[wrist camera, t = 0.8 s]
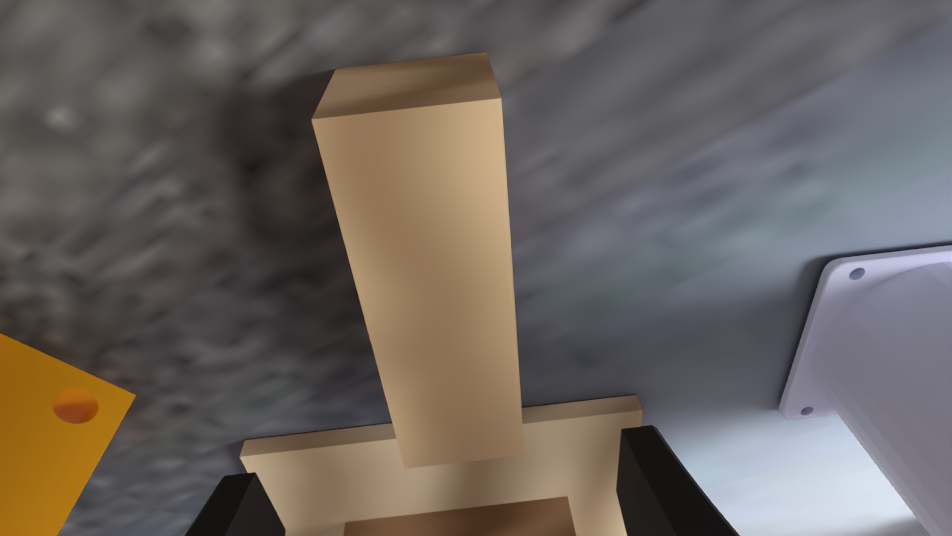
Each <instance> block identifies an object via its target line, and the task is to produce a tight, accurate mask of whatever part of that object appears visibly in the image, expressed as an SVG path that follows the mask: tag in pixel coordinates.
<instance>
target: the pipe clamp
mask: <svg viewBox="0 0 952 536" xmlns="http://www.w3.org/2000/svg"><path fill="white" fill-rule="evenodd" d="M135 396H136V395H135V394H132V393H130V392H128V391H126V390H124V389H121V388H119V387H117V386H115V385H113V384H111V383H108V382H106V381H104V380H102V379H100V378H97V377H95V376H93V375H91V374H89V373H86V372H84V371H82V370H80V369H78V368H75V367H73V366H71V365H69V364H67V363H64V362H62V361H60V360H58V359H56V358H53V357H51V356H49V355H47V354H45V353H42V352H40V351H38V350H36V349H34V348H31V347H29V346H27V345H25V344H23V343H20V342H18V341H16V340H14V339H12V338H10V337H7V336H5V335H3V334H1V333H0V536H57V535H58V533H59V531H60V529H61V528H62V526H63V524H64V522H65V521H66V519H67V517H68V515H69V513H70V512H71V510H72V508H73V506H74V505H75V503H76V501H77V499H78V498H79V496H80V494H81V492H82V490H83V489H84V487H85V485H86V483H87V482H88V480H89V478H90V476H91V474H92V473H93V471H94V469H95V467H96V466H97V464H98V462H99V460H100V458H101V457H102V455H103V453H104V451H105V450H106V448H107V446H108V444H109V443H110V441H111V439H112V437H113V435H114V434H115V432H116V430H117V428H118V427H119V425H120V423H121V421H122V419H123V418H124V416H125V414H126V412H127V411H128V409H129V407H130V405H131V403H132V402H133V400H134V398H135Z"/></svg>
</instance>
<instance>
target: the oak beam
mask: <svg viewBox="0 0 952 536" xmlns="http://www.w3.org/2000/svg"><path fill="white" fill-rule="evenodd" d="M311 120H312V124H313V127H314V131H315V135H316V139H317V142H318V146H319V150H320V154H321V157H322V161H323V165H324V169H325V172H326V176H327V180H328V183H329V187H330V191H331V195H332V198H333V202H334V206H335V210H336V213H337V217H338V221H339V225H340V228H341V232H342V236H343V240H344V243H345V247H346V251H347V255H348V258H349V262H350V266H351V270H352V273H353V277H354V281H355V285H356V288H357V292H358V296H359V300H360V303H361V307H362V311H363V315H364V318H365V322H366V326H367V330H368V333H369V337H370V341H371V344H372V348H373V352H374V356H375V359H376V363H377V367H378V371H379V374H380V378H381V382H382V386H383V389H384V393H385V397H386V401H387V404H388V408H389V412H390V416H391V419H392V423H393V427H394V431H395V434H396V438H397V442H398V446H399V449H400V453H401V457H402V461H403V464H404V468H405V469H407V468H416V467H425V466H434V465H443V464H451V463H460V462H469V461H478V460H486V459H495V458H504V457H513V456H521V455H525V453H524V438H523V423H522V407H521V392H520V377H519V362H518V346H517V331H516V316H515V300H514V285H513V270H512V255H511V239H510V224H509V209H508V193H507V178H506V163H505V147H504V132H503V117H502V102H501V96H500V93H499V89H498V86H497V83H496V80H495V77H494V74H493V71H492V68H491V64H490V61H489V58H488V55H487V52H482V53H473V54H464V55H455V56H446V57H438V58H429V59H420V60H411V61H402V62H393V63H384V64H375V65H366V66H357V67H348V68H340V69H336V70H335V72H334V74H333V76H332V78H331V80H330V82H329V84H328V86H327V88H326V90H325V92H324V94H323V96H322V99H321V101H320V103H319V105H318V107H317V109H316V111H315V113H314V115H313V117H312V119H311Z"/></svg>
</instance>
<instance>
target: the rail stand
mask: <svg viewBox="0 0 952 536" xmlns="http://www.w3.org/2000/svg"><path fill="white" fill-rule="evenodd" d="M642 415H643V408H642V406H641V403H640V401H639V399H638V396H637V395H630V396H622V397H613V398H604V399H596V400H587V401H579V402H570V403H561V404H553V405H544V406H536V407H527V408H522V423H523V438H524V453H525V455H521V456H513V457H504V458H495V459H486V460H478V461H469V462H460V463H451V464H443V465H434V466H425V467H416V468H407V469H405V468H404V464H403V461H402V457H401V453H400V449H399V446H398V442H397V438H396V434H395V431H394V427H393V423H389V424H381V425H372V426H363V427H355V428H346V429H338V430H329V431H320V432H312V433H303V434H295V435H286V436H277V437H269V438H260V439H252V440H245V441H244V444H243V448H242V451H241V454H240V459H241V461H242V463H243V465H244V466H245V468H246V470H247V472H248V473H253V472H256V474H257V476H258V478H259V479H260V481H261V483H262V485H263V487H264V489H265V491H266V493H267V495H268V497H269V499H270V501H271V502H272V504H273V506H274V508H275V510H276V512H277V514H278V516H279V518H280V520H281V522H282V523H283V525H284V527H285V529H286V532H285V536H627V533H626V529H625V525H624V521H623V517H622V513H621V509H620V505H619V501H618V497H617V493H616V484H617V473H618V461H619V450H620V438H621V429H624V428H632V427H641V424H642Z"/></svg>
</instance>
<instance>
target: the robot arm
mask: <svg viewBox="0 0 952 536" xmlns="http://www.w3.org/2000/svg"><path fill="white" fill-rule="evenodd" d="M854 269H856V270H855V271H853V270H854ZM852 271H853V272H852ZM851 272H852V273H851ZM779 411H780V413H781V415H782V416H783V417H784V418H785V419H788V420H793V419H802V418H811V417H819V416H828V415H836V414H838V415H839V416H840V417H841V419H842V420H843V421H844V423H845V424H846V425H847V427H848V428H849V429H850V431H851V432H852V433H853V434H854V436H855V437H856V438H857V440H858V441H859V442H860V444H861V445H862V446H863V448H864V449H865V450H866V452H867V453H868V454H869V456H870V457H871V458H872V460H873V461H874V462H875V463H876V465H877V466H878V467H879V469H880V470H881V471H882V473H883V474H884V475H885V477H886V478H887V479H888V481H889V482H890V483H891V485H892V486H893V487H894V488H895V490H896V491H897V492H898V494H899V495H900V496H901V498H902V499H903V500H904V502H905V503H906V504H907V506H908V507H909V508H910V510H911V511H912V512H913V514H914V515H915V516H916V517H917V519H918V520H919V521H920V523H921V524H922V525H923V527H924V528H925V529H926V531H927V532H928V533H929V535H930V536H952V245H949V246H940V247H931V248H923V249H914V250H905V251H897V252H888V253H879V254H871V255H862V256H853V257H845V258H839V259H835V260H833V261H831V262H829V263H828V264H827V265H826V266H825V268H824V269H823V271H822V274H821V277H820V280H819V283H818V286H817V290H816V293H815V296H814V299H813V302H812V305H811V308H810V311H809V315H808V318H807V321H806V324H805V327H804V330H803V333H802V336H801V339H800V343H799V346H798V349H797V352H796V355H795V358H794V361H793V364H792V368H791V371H790V374H789V377H788V380H787V383H786V386H785V389H784V392H783V396H782V399H781V402H780V405H779ZM616 493H617V497H618V501H619V505H620V509H621V513H622V517H623V521H624V525H625V529H626V533H627V536H740V535H739V534H738V533H737V532H736V531H735V530H734V528H733V527H732V526H731V525H730V524H729V522H728V521H727V520H726V519H725V518H724V516H723V515H722V514H721V513H720V512H719V510H718V509H717V508H716V507H715V506H714V504H713V503H712V502H711V501H710V499H709V498H708V497H707V496H706V494H705V493H704V492H703V491H702V489H701V488H700V487H699V485H698V484H697V483H696V482H695V480H694V479H693V478H692V476H691V475H690V474H689V472H688V471H687V470H686V469H685V467H684V466H683V464H682V463H681V462H680V460H679V459H678V458H677V456H676V455H675V454H674V452H673V451H672V449H671V448H670V447H669V445H668V444H667V442H666V441H665V439H664V438H663V437H662V435H661V434H660V432H659V431H658V429H657V428H656V427H654V426H653V425H649V426H641V427H632V428H624V429H621V438H620V450H619V461H618V473H617V484H616ZM285 532H286V529H285V527H284V525H283V523H282V522H281V520H280V518H279V516H278V514H277V512H276V510H275V508H274V506H273V504H272V502H271V501H270V499H269V497H268V495H267V493H266V491H265V489H264V487H263V485H262V483H261V481H260V479H259V478H258V476H257V474H256V472H253V473H245V474H236V475H228V476H224V477H223V478H222V480H221V481H220V483H219V484H218V486H217V487H216V489H215V490H214V492H213V493H212V495H211V496H210V498H209V499H208V501H207V502H206V504H205V505H204V507H203V509H202V510H201V512H200V513H199V515H198V516H197V518H196V519H195V521H194V522H193V524H192V525H191V527H190V528H189V530H188V531H187V533H186V534H185V536H285Z"/></svg>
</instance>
